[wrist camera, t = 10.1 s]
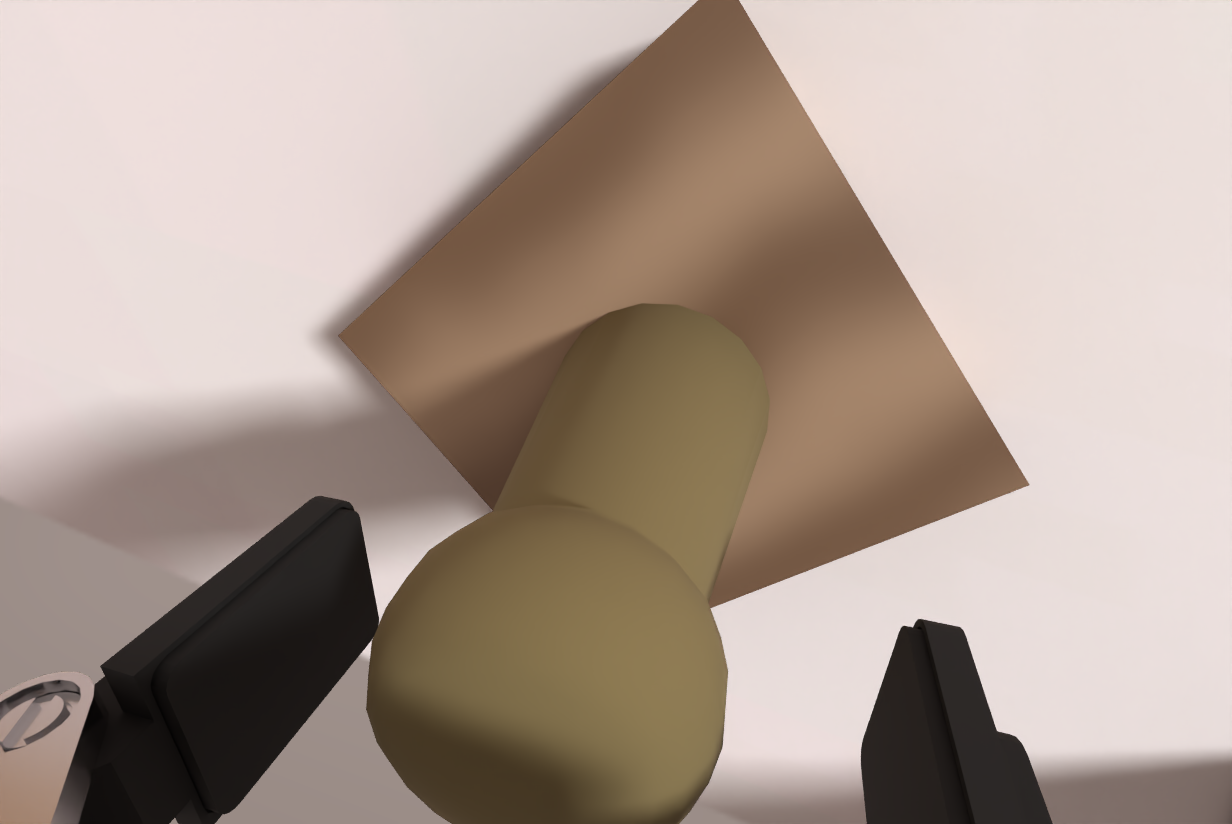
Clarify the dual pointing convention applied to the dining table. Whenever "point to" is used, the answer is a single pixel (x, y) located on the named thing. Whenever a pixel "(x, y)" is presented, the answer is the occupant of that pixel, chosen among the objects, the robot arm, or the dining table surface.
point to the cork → (583, 593)
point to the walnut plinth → (699, 304)
